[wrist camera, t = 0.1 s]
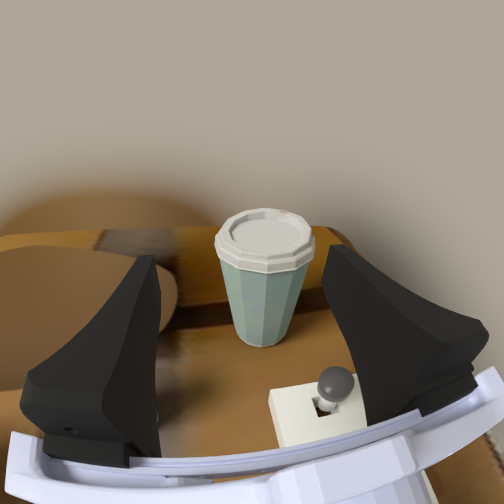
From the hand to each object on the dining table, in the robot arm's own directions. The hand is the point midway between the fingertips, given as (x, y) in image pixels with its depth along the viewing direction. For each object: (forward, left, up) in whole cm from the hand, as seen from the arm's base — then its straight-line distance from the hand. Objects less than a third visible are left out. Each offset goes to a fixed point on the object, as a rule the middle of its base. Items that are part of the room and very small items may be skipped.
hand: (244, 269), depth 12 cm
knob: (+3, -9, -19) cm, 21 cm away
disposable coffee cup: (+17, -5, -22) cm, 28 cm away
